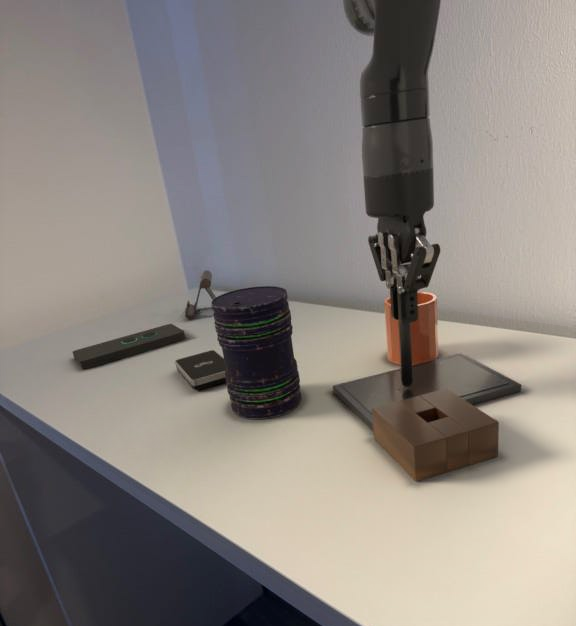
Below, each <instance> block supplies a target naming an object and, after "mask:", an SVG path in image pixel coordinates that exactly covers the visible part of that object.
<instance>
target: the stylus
mask: <svg viewBox="0 0 576 626" xmlns="http://www.w3.org/2000/svg"><path fill="white" fill-rule="evenodd" d="M405 280H406V279H405ZM398 293H399V292H398V290H397V298H398ZM398 318H399V312H398ZM399 338H400V358H401V365H400V368H401V378H402V384H403V385H404V386H405V387H409V386H411V385H412V383H413V372H412V348H411V323H406V324H404V323H402V322H400V321H399Z"/></svg>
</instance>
